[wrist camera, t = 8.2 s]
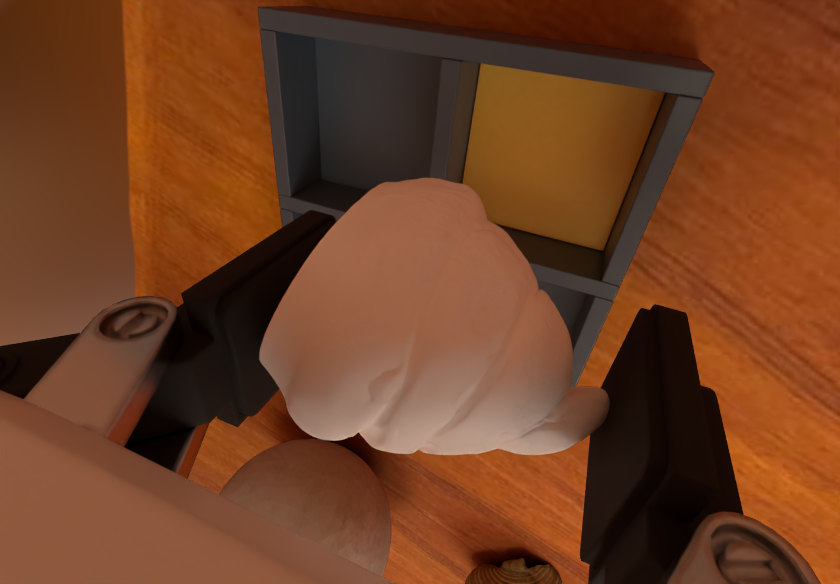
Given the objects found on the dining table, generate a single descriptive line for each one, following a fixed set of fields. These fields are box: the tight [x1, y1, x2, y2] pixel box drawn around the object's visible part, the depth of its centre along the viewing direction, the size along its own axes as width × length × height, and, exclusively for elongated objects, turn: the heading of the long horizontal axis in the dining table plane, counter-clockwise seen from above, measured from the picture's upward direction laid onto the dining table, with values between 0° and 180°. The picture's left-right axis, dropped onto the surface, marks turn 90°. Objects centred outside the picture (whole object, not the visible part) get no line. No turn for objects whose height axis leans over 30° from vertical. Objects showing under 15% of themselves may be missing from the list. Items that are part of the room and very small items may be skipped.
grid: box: [258, 6, 714, 387], centre depth 22 cm, size 17×17×4 cm
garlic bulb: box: [259, 178, 610, 455], centre depth 9 cm, size 6×6×5 cm
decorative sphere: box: [219, 439, 391, 577], centre depth 36 cm, size 15×15×15 cm
